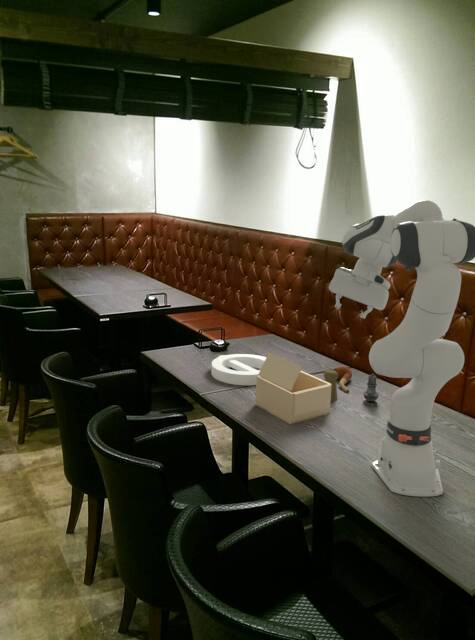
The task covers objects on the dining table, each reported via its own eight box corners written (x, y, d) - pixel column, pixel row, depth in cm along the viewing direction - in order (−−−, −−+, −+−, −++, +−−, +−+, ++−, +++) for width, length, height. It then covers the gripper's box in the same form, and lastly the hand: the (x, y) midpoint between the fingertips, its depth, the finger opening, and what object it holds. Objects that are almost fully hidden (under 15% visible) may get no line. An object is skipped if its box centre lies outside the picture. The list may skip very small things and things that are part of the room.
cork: (319, 399, 214) (320, 371, 211) (324, 394, 219) (326, 367, 217) (334, 402, 211) (336, 374, 209) (339, 397, 216) (341, 370, 214)
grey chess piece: (378, 406, 209) (381, 375, 206) (362, 404, 210) (364, 374, 207) (377, 400, 214) (380, 370, 211) (362, 399, 215) (364, 369, 212)
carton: (293, 394, 218) (295, 367, 215) (331, 413, 201) (333, 384, 198) (254, 404, 207) (255, 376, 205) (291, 425, 190) (293, 394, 188)
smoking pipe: (349, 377, 240) (350, 364, 238) (360, 393, 222) (361, 379, 220) (332, 377, 239) (333, 364, 238) (342, 393, 221) (343, 379, 220)
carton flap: (259, 375, 204) (269, 353, 204) (290, 391, 189) (302, 366, 190) (258, 374, 203) (268, 352, 204) (289, 390, 189) (301, 366, 189)
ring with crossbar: (273, 388, 225) (274, 377, 224) (205, 382, 229) (205, 371, 228) (279, 366, 252) (280, 356, 251) (218, 362, 256) (218, 352, 255)
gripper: (335, 263, 193) (319, 300, 193) (391, 282, 183) (375, 321, 184) (340, 267, 198) (325, 303, 199) (395, 286, 189) (379, 324, 189)
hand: (349, 312), depth 191 cm, fingers open, 8 cm apart
